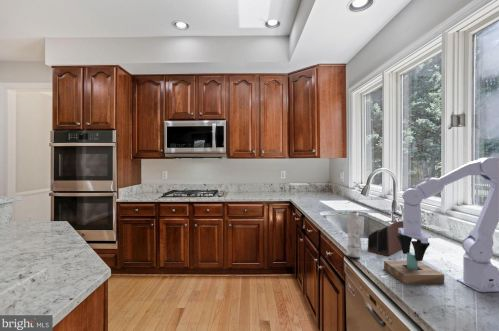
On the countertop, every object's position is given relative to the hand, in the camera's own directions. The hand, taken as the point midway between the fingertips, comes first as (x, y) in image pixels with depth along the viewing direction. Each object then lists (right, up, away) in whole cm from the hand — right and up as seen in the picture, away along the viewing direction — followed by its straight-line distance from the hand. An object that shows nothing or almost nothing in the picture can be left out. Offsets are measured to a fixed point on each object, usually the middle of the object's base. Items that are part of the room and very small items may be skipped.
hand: (412, 257), depth 103 cm
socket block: (0, -7, 0) cm, 7 cm away
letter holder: (+6, -7, +31) cm, 32 cm away
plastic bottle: (-14, -7, +20) cm, 26 cm away
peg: (0, -7, 0) cm, 7 cm away
